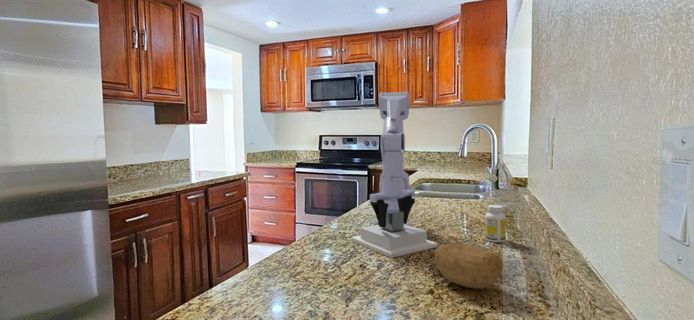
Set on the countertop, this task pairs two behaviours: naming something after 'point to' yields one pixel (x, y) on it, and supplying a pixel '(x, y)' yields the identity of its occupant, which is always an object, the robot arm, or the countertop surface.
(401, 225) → the grey tall block
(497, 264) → the potato
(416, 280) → the countertop surface
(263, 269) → the countertop surface
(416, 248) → the bracket board
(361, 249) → the countertop surface
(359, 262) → the countertop surface
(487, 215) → the supplement bottle
